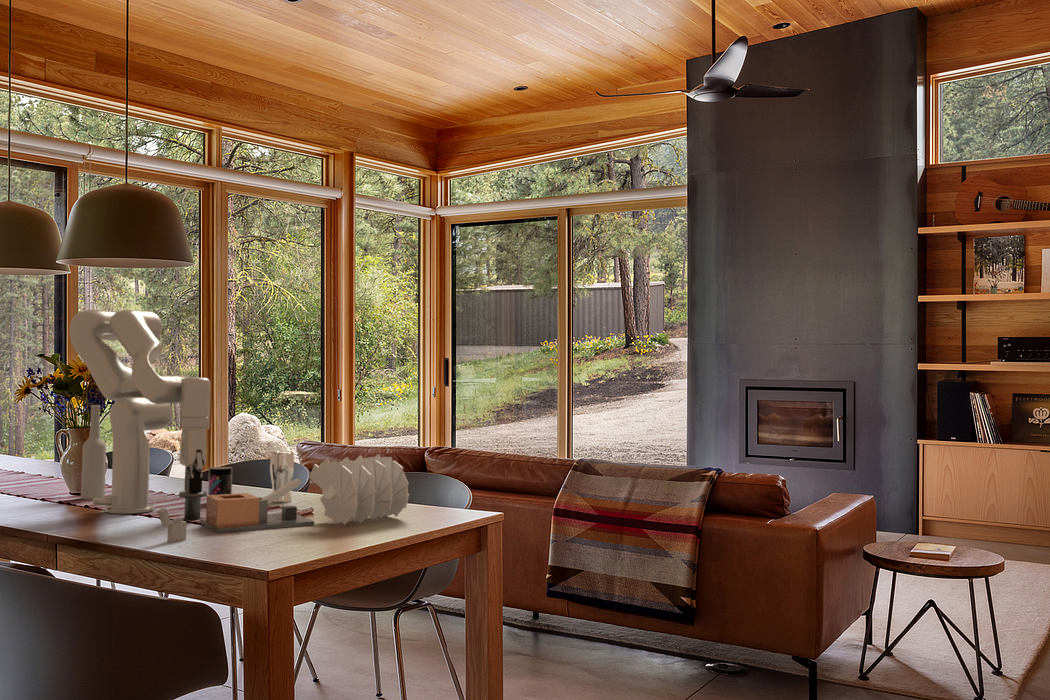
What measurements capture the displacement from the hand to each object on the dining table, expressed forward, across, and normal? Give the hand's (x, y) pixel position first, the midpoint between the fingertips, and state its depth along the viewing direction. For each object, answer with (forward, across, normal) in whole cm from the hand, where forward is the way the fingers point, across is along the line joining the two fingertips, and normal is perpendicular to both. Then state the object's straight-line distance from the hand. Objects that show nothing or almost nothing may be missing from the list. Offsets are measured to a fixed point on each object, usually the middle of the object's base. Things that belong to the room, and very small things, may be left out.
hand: (193, 491), depth 248 cm
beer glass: (+7, -20, +31) cm, 38 cm away
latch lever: (0, +16, +19) cm, 25 cm away
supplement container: (+7, -25, +14) cm, 30 cm away
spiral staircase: (+8, +23, +39) cm, 46 cm away
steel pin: (+7, 0, 0) cm, 7 cm away
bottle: (+7, -50, -17) cm, 53 cm away
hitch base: (+7, +16, +12) cm, 21 cm away
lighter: (+7, +30, -12) cm, 33 cm away
